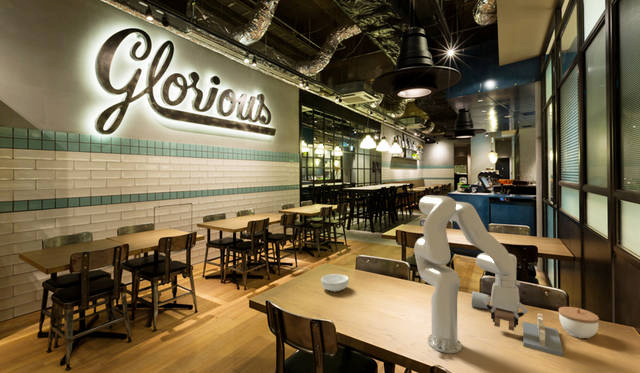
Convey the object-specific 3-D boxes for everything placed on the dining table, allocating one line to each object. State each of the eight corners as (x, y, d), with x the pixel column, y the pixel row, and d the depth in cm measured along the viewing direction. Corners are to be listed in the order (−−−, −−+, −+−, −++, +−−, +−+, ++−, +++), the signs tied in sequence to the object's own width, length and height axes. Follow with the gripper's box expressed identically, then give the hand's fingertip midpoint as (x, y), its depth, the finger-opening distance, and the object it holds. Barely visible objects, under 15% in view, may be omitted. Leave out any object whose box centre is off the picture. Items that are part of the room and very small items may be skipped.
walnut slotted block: (514, 330, 118) (514, 314, 118) (494, 325, 122) (494, 309, 122) (514, 327, 121) (514, 310, 121) (495, 322, 125) (495, 306, 125)
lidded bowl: (551, 326, 126) (551, 302, 126) (580, 326, 126) (580, 302, 126) (575, 342, 114) (575, 315, 113) (608, 342, 113) (608, 315, 113)
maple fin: (545, 346, 109) (545, 332, 109) (539, 345, 110) (539, 331, 110) (542, 326, 123) (542, 314, 123) (537, 325, 124) (537, 313, 124)
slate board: (563, 356, 105) (563, 352, 105) (523, 346, 112) (523, 342, 112) (557, 332, 121) (557, 329, 121) (522, 324, 128) (522, 321, 128)
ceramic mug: (490, 312, 141) (490, 296, 141) (471, 308, 145) (471, 293, 145) (490, 304, 150) (489, 290, 150) (472, 301, 154) (472, 287, 154)
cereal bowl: (331, 282, 185) (331, 272, 185) (353, 288, 176) (353, 276, 175) (315, 291, 171) (315, 279, 171) (339, 297, 162) (338, 285, 162)
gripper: (530, 284, 119) (529, 326, 120) (483, 276, 129) (482, 314, 130) (530, 289, 113) (529, 333, 113) (481, 280, 123) (480, 321, 123)
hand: (504, 323), depth 122 cm, fingers closed on walnut slotted block, 7 cm apart
